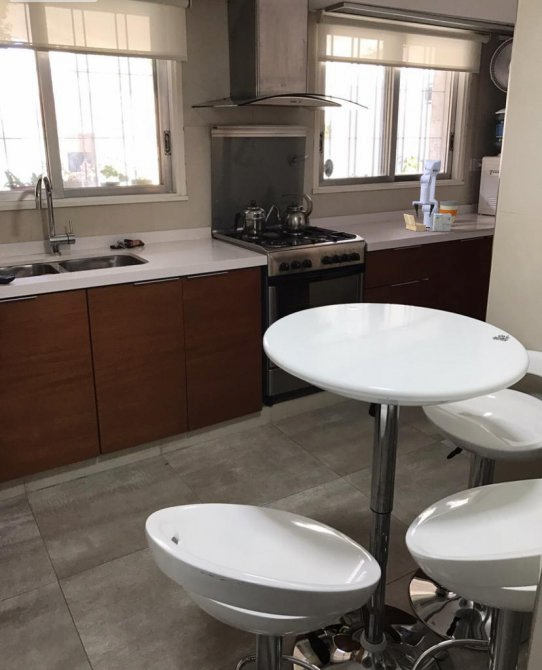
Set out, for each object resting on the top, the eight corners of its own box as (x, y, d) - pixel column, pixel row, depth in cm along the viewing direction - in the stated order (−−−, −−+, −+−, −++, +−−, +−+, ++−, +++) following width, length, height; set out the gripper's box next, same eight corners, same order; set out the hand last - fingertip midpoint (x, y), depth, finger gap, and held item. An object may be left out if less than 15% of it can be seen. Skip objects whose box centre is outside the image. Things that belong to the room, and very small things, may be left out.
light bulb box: (448, 230, 389) (450, 213, 385) (450, 231, 382) (452, 214, 379) (432, 229, 390) (433, 213, 386) (433, 231, 383) (435, 214, 380)
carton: (405, 229, 393) (406, 222, 392) (415, 228, 395) (415, 222, 394) (415, 231, 381) (416, 225, 380) (425, 231, 383) (426, 225, 382)
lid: (406, 222, 392) (405, 223, 391) (404, 213, 389) (403, 214, 389) (416, 225, 380) (415, 225, 380) (413, 215, 378) (413, 216, 377)
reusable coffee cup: (447, 224, 416) (449, 202, 411) (434, 222, 426) (436, 200, 422) (460, 222, 422) (462, 201, 417) (447, 220, 432) (449, 199, 428)
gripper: (413, 194, 368) (411, 217, 372) (437, 195, 364) (435, 217, 369) (413, 194, 374) (411, 215, 378) (437, 194, 371) (435, 216, 375)
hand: (423, 216), depth 374 cm, fingers open, 7 cm apart
